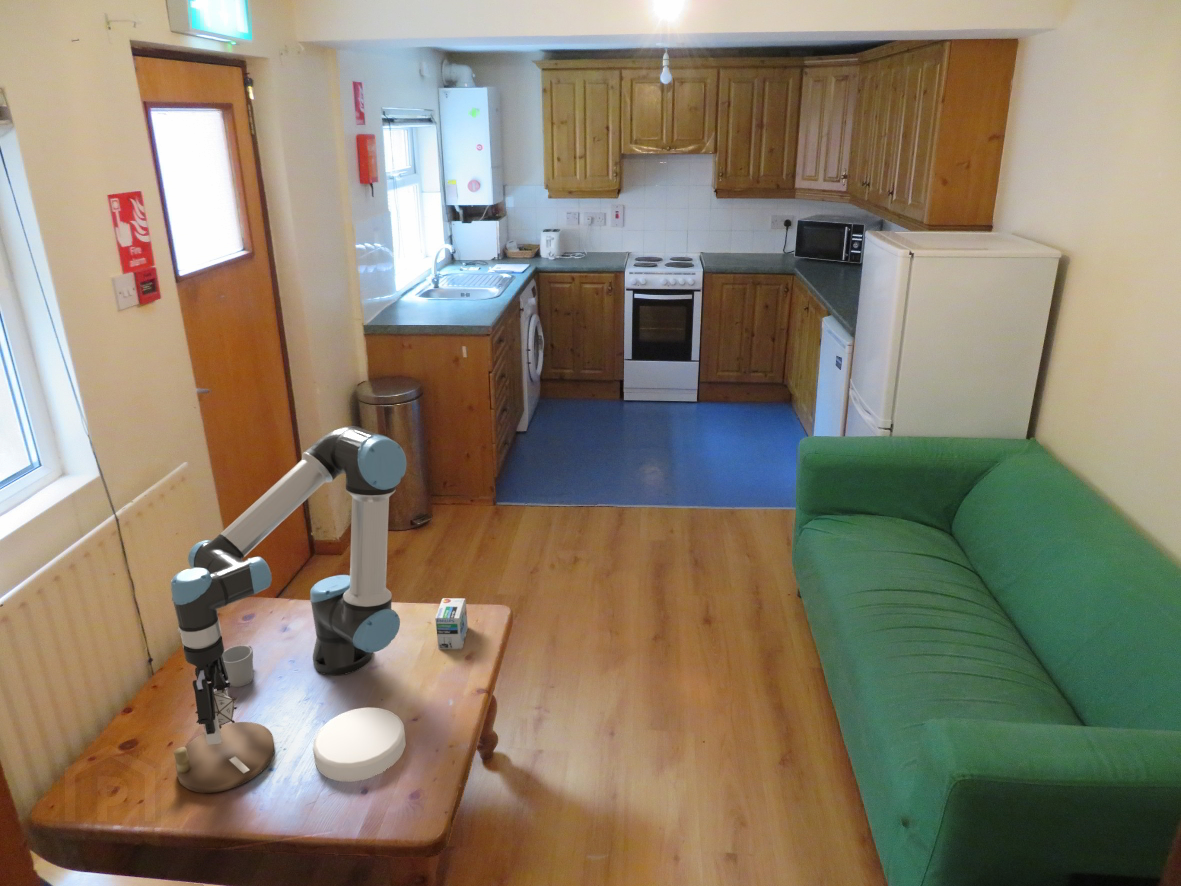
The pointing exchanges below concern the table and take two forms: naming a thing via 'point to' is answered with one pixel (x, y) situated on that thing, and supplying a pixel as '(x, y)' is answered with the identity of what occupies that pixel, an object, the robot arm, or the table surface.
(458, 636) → the light bulb box
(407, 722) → the table surface
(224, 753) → the turntable
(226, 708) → the game die
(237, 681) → the cup
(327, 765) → the container
